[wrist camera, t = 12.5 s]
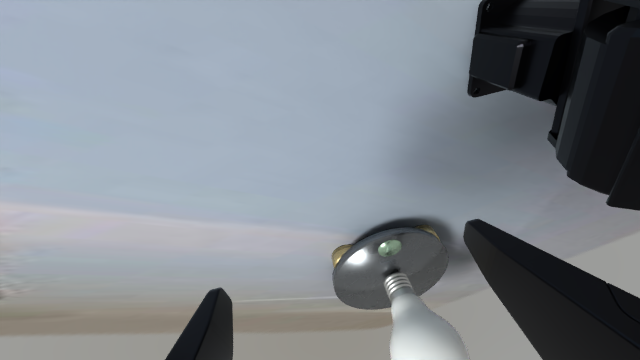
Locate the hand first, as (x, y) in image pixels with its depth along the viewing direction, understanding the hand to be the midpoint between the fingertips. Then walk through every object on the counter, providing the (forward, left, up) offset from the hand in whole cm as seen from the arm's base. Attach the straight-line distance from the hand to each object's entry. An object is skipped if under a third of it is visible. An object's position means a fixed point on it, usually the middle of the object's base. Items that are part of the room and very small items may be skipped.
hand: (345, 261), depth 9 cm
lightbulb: (-5, +19, -11) cm, 22 cm away
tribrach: (-5, +19, -13) cm, 24 cm away
